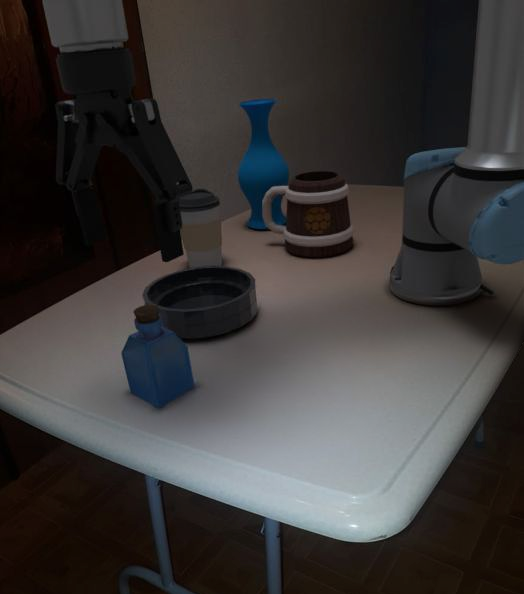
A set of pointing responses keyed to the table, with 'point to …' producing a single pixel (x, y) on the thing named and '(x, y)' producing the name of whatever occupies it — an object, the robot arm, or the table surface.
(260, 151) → the vase
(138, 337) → the perfume bottle
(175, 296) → the bowl
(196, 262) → the coffee cup
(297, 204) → the mug
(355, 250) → the table surface
